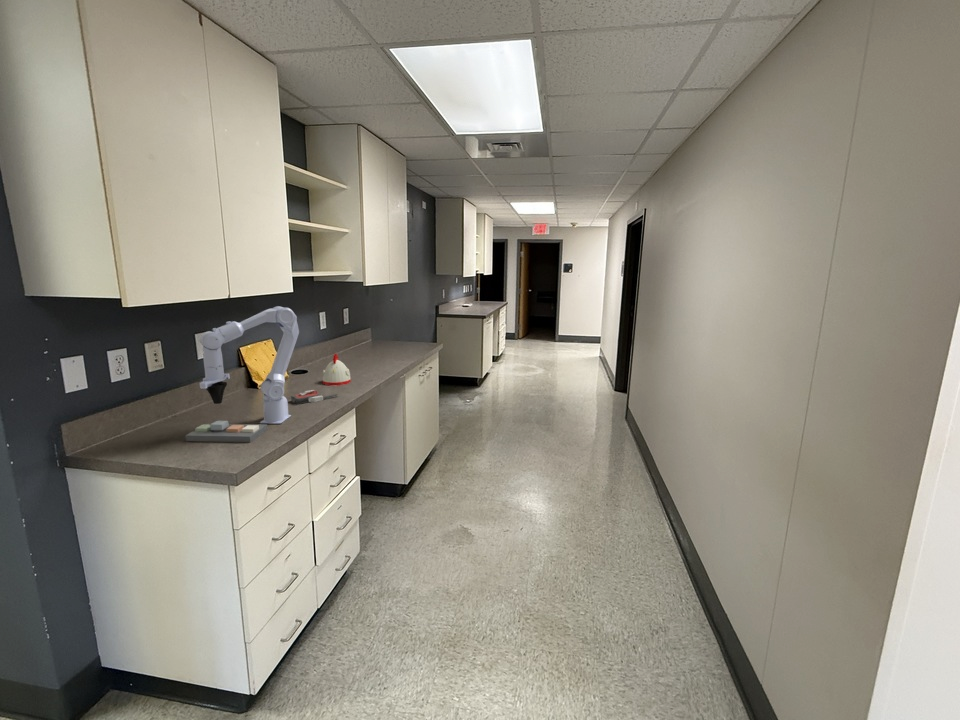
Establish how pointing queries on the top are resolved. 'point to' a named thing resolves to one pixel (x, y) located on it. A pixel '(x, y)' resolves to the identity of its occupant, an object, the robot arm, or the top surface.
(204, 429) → the key sage
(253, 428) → the key ivory
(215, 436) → the grey slotted tray
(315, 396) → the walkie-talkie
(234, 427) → the key terracotta
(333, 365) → the kitchen timer
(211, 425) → the key slate
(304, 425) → the top surface
